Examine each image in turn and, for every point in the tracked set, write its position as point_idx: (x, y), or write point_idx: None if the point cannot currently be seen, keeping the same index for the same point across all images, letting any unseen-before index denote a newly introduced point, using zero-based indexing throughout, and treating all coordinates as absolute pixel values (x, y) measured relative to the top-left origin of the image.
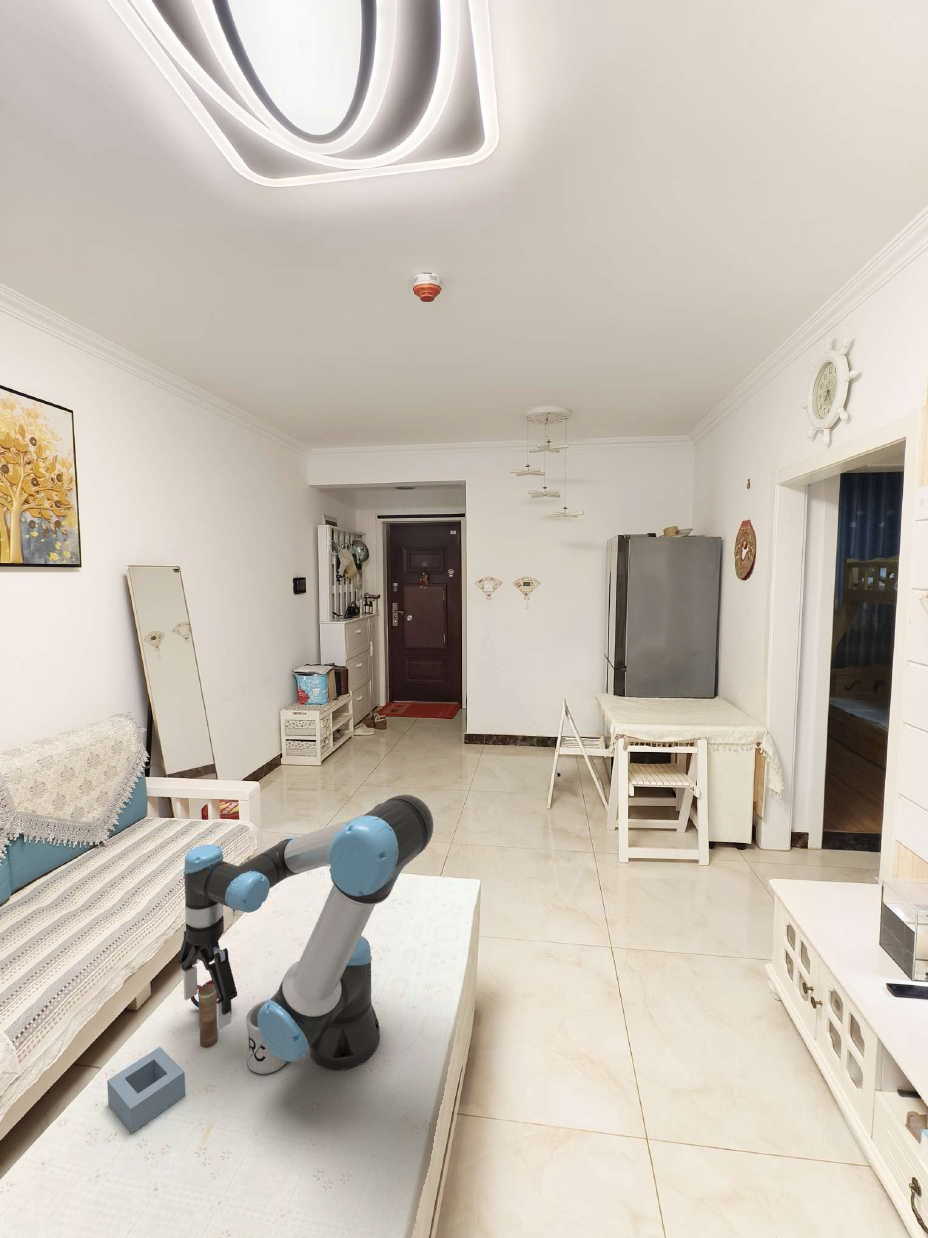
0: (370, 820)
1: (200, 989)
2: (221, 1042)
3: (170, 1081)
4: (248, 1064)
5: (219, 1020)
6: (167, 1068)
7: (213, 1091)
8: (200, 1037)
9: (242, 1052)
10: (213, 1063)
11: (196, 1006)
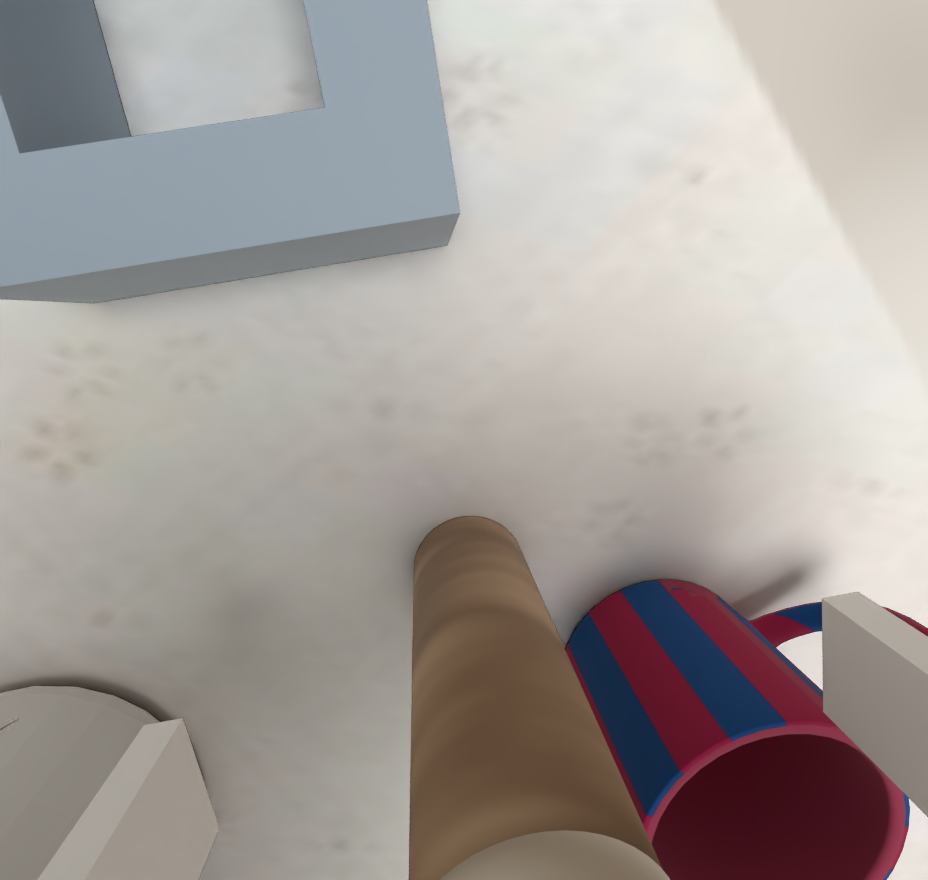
0: None
1: None
2: (403, 621)
3: None
4: (27, 700)
5: (75, 834)
6: (94, 174)
7: (16, 457)
8: (472, 540)
9: (229, 689)
10: (259, 530)
11: (801, 606)
